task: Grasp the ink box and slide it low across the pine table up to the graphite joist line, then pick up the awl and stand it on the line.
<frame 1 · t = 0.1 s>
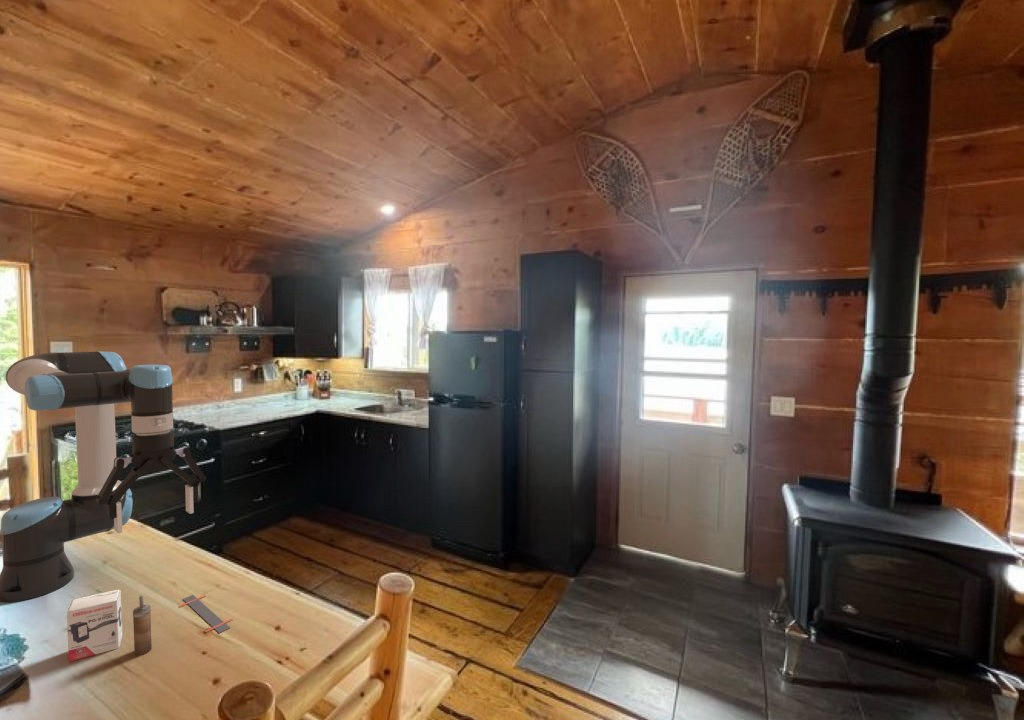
hand: (155, 521, 106), 28 cm above the table, fingers open, 13 cm apart
ink box: (96, 649, 103), on the table
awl: (143, 651, 103), on the table
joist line: (205, 613, 116), on the table
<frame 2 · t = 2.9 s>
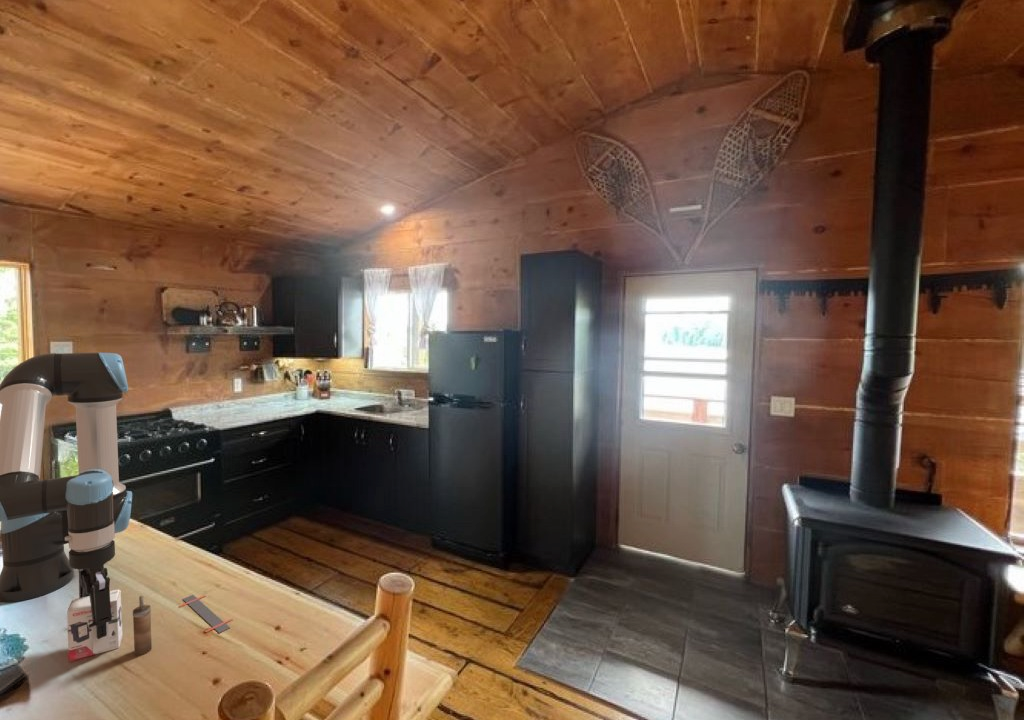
hand: (96, 642, 103), 1 cm above the table, fingers closed on ink box, 6 cm apart
ink box: (96, 649, 103), on the table, touching gripper
everything else where it was.
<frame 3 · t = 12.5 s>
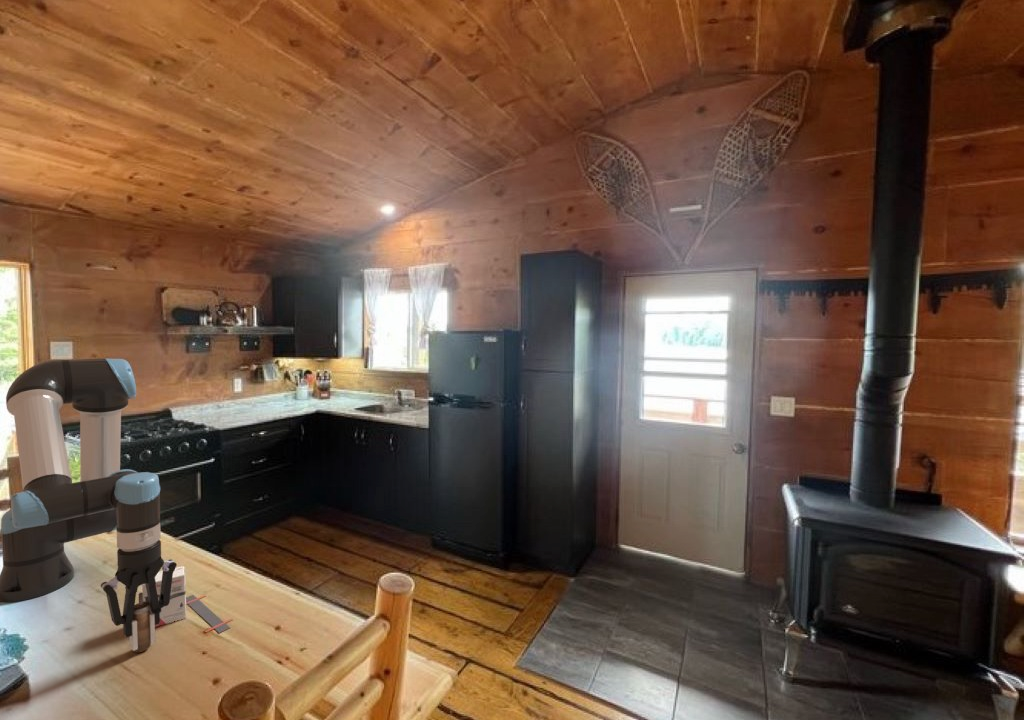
hand: (142, 643, 103), 2 cm above the table, fingers closed on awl, 2 cm apart
ink box: (165, 620, 113), on the table
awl: (142, 647, 103), on the table, touching gripper
when the fingers open (2 cm above the table, at t = 17.4 s): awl stays where it is, resting on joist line.
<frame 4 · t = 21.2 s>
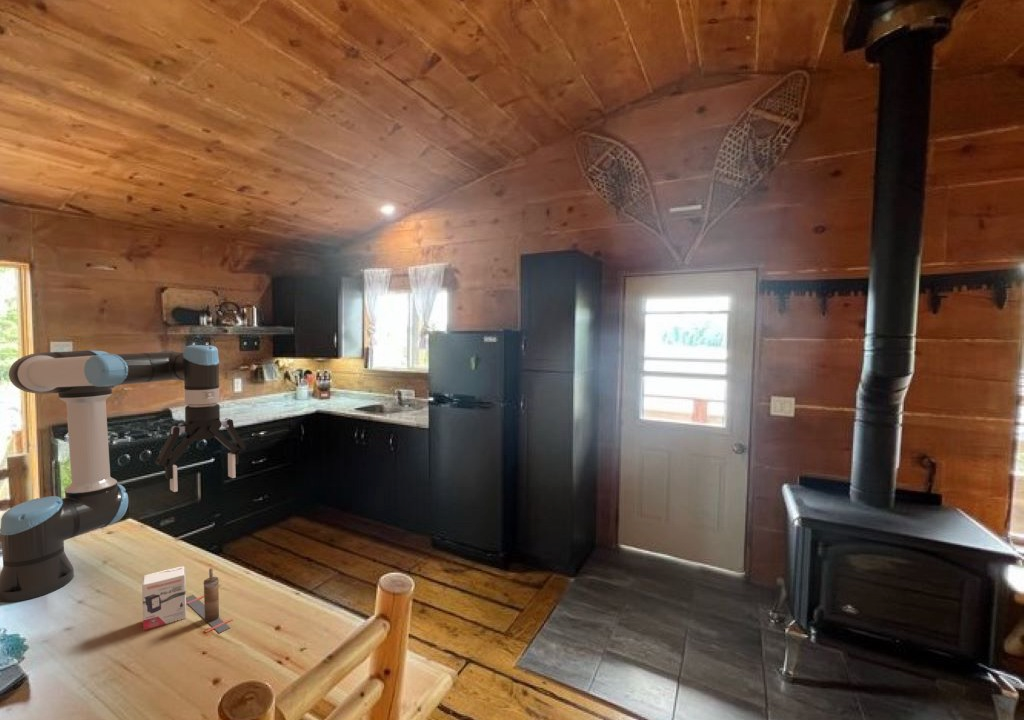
hand: (204, 483, 120), 32 cm above the table, fingers open, 13 cm apart
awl: (211, 618, 114), resting on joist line
everything else where it was.
at the end: ink box inside the target area (0.2 cm from its centre), on the table; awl inside the target area on the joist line (0.2 cm from its centre), point 0.2 cm above the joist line's base; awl tilted 0° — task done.
